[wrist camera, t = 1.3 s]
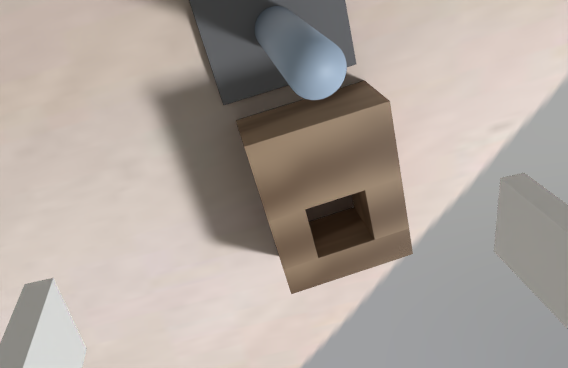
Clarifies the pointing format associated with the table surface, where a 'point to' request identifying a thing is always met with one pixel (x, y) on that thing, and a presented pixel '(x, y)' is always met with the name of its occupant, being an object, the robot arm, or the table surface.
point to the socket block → (330, 183)
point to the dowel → (301, 53)
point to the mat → (246, 49)
